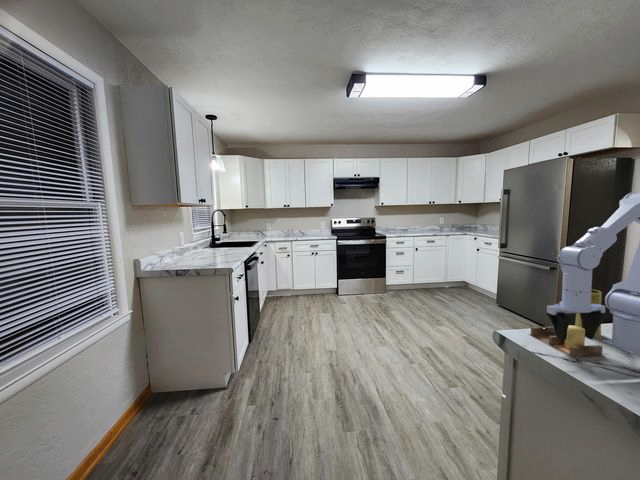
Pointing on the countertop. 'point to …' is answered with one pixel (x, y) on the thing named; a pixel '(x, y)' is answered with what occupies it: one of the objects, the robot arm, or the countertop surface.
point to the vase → (595, 299)
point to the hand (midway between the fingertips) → (574, 338)
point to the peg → (574, 337)
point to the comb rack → (551, 339)
